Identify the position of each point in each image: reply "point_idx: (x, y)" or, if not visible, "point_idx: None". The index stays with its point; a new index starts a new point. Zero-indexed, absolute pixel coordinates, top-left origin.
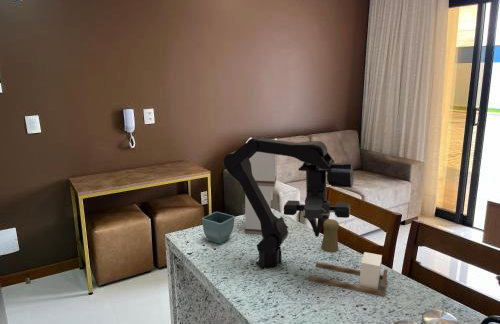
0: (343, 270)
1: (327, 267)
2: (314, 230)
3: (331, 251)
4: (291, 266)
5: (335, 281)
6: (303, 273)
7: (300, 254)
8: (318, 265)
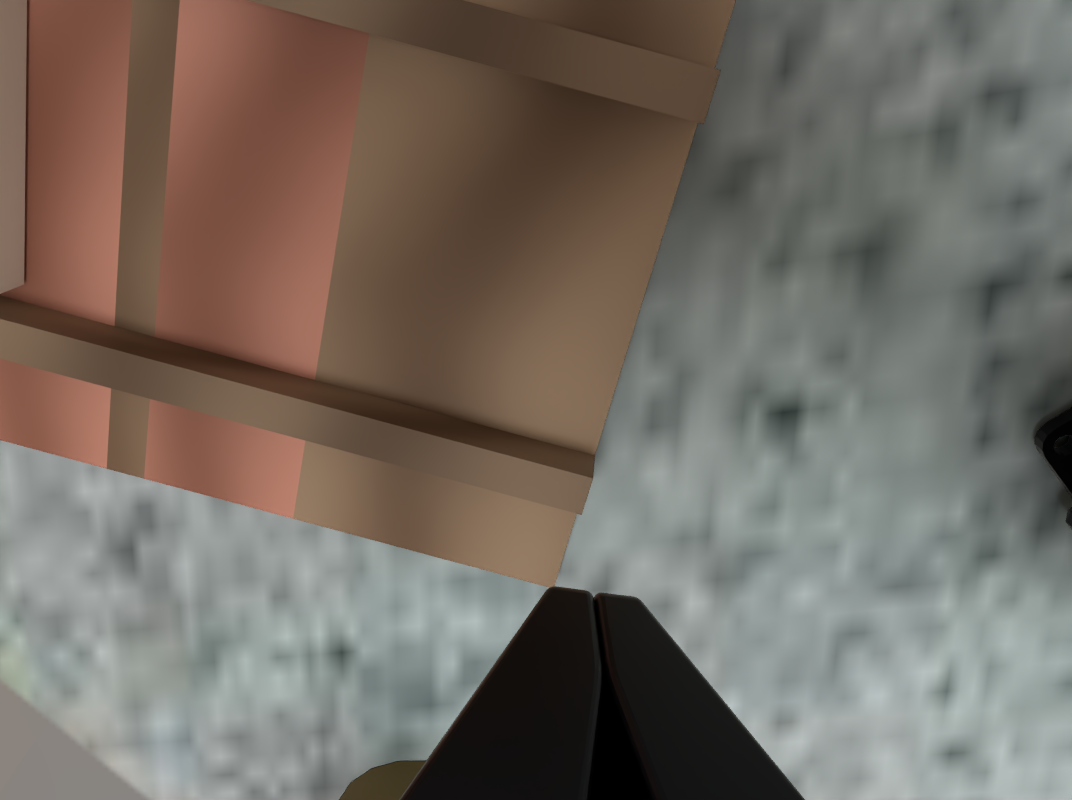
0: (242, 373)
1: (444, 425)
2: (709, 738)
3: (401, 789)
4: (910, 462)
5: (323, 1)
6: (763, 307)
7: (764, 738)
8: (560, 459)
